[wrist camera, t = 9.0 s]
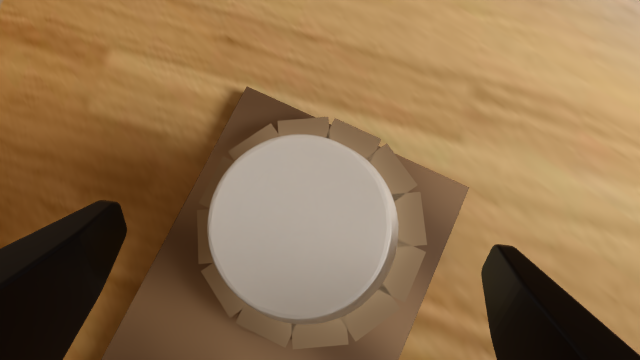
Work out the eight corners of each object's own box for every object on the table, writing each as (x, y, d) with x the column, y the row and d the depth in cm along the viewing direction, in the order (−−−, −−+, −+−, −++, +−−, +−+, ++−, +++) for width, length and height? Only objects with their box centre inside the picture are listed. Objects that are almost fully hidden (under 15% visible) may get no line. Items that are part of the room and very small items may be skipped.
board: (308, 559, 16) (306, 616, 14) (71, 431, 17) (30, 463, 15) (461, 190, 19) (482, 182, 17) (250, 94, 20) (240, 72, 17)
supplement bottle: (247, 184, 18) (163, 117, 8) (359, 167, 18) (404, 83, 8) (260, 300, 17) (184, 376, 7) (378, 282, 17) (453, 334, 8)
